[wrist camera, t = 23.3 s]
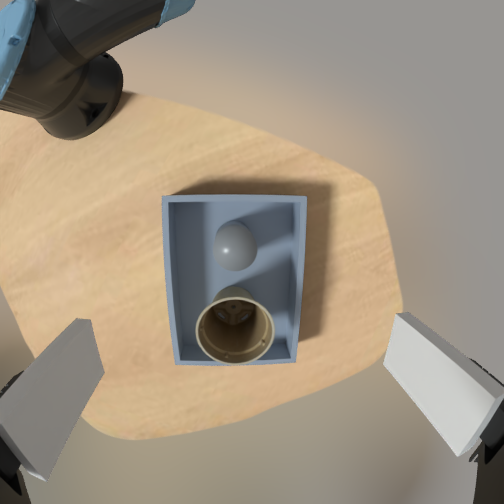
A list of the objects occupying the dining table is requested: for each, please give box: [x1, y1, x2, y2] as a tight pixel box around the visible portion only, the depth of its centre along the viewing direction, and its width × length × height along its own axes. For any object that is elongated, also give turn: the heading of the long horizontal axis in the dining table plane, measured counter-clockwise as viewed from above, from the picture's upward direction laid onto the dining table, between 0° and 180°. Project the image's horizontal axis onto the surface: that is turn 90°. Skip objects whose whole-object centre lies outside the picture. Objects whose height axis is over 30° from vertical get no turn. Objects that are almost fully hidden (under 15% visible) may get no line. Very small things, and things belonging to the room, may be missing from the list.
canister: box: [213, 221, 258, 271], centre depth 34 cm, size 5×5×7 cm
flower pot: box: [196, 286, 275, 365], centre depth 36 cm, size 9×9×9 cm
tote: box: [162, 194, 307, 366], centre depth 37 cm, size 24×18×5 cm
